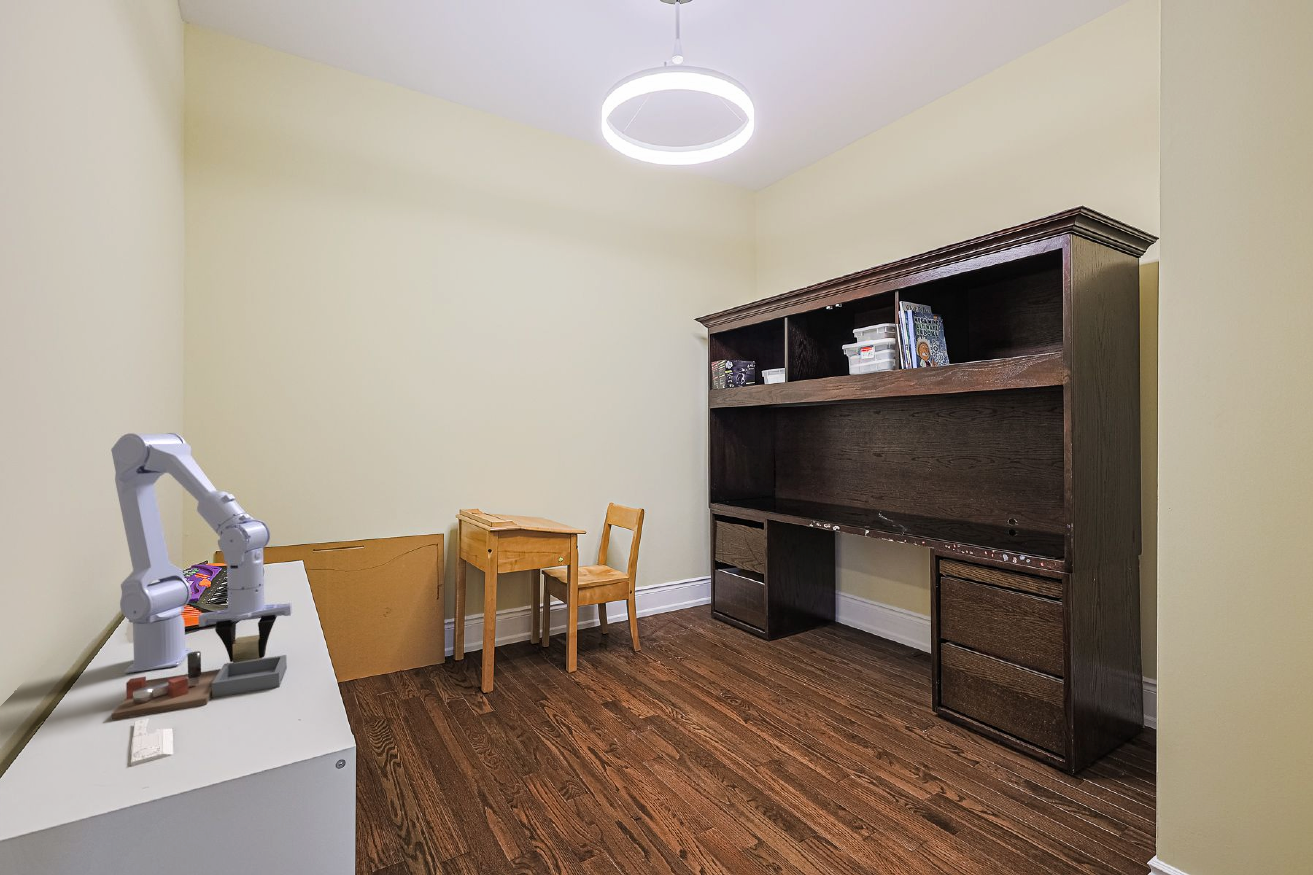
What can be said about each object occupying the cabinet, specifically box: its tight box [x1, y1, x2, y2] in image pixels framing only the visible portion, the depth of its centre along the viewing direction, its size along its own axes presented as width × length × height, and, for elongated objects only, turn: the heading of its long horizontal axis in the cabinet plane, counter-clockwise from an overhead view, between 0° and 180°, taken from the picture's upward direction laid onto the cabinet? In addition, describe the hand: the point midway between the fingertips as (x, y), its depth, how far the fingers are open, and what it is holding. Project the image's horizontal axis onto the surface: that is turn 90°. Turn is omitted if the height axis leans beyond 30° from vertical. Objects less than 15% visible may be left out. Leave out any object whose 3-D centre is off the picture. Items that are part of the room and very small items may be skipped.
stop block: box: [232, 634, 261, 663], centre depth 116 cm, size 4×4×5 cm
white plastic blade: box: [130, 718, 174, 767], centre depth 89 cm, size 5×15×1 cm, turn 38°
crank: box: [133, 650, 202, 703], centre depth 102 cm, size 9×3×5 cm, turn 147°
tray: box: [211, 654, 288, 699], centre depth 109 cm, size 10×10×2 cm
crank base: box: [111, 668, 221, 721], centre depth 104 cm, size 14×12×4 cm
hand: (247, 658), depth 116 cm, fingers closed on stop block, 4 cm apart
